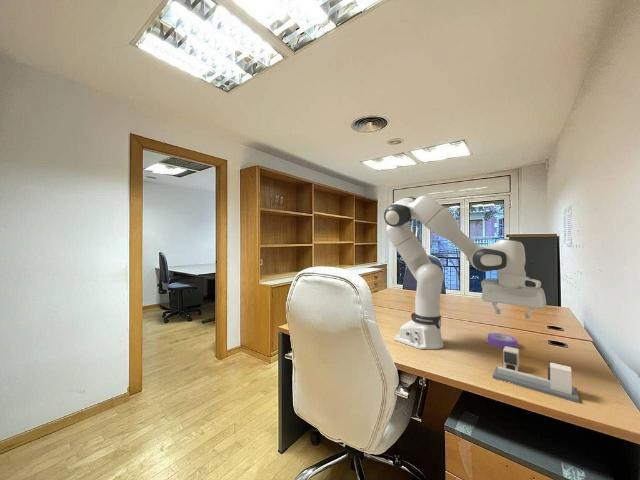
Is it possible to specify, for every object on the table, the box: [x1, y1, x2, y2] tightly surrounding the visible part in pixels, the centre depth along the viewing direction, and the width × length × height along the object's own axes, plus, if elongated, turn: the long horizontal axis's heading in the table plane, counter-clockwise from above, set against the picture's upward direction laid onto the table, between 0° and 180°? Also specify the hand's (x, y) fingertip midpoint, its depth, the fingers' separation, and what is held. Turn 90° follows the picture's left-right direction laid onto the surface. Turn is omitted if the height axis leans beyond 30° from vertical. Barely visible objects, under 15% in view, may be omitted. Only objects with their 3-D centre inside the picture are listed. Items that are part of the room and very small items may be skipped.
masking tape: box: [487, 332, 518, 350], centre depth 125 cm, size 12×12×4 cm
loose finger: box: [502, 346, 520, 372], centre depth 101 cm, size 6×4×7 cm
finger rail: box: [492, 361, 580, 404], centre depth 90 cm, size 22×9×8 cm, turn 48°
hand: (512, 315), depth 102 cm, fingers open, 8 cm apart
